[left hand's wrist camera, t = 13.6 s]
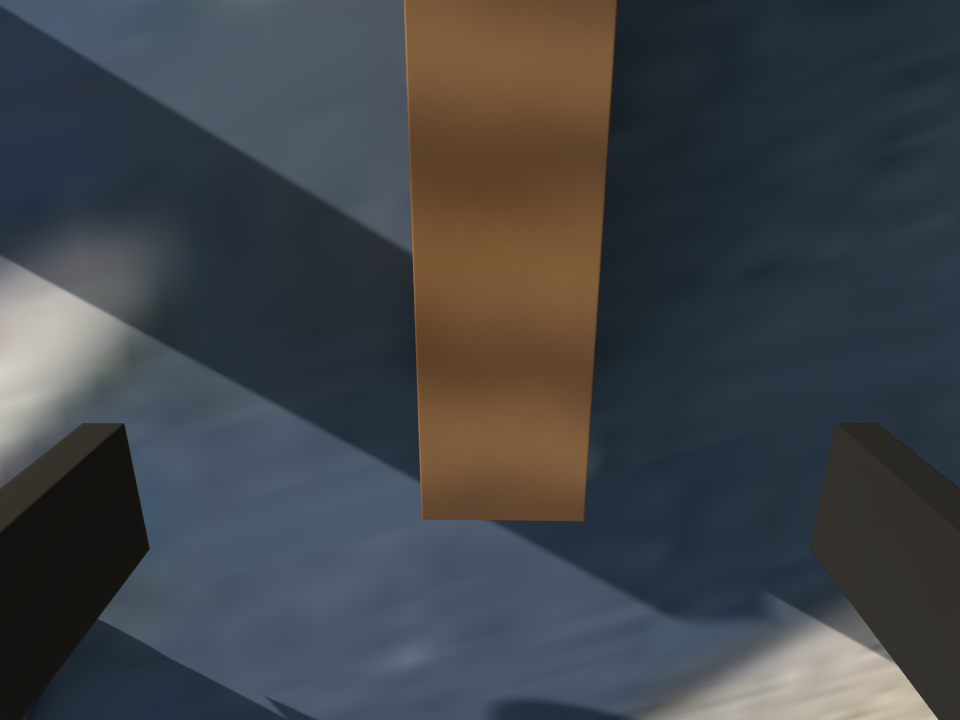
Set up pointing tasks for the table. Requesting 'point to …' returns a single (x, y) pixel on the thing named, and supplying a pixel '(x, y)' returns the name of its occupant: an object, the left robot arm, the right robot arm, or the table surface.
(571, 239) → the beam
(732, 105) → the table surface
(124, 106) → the table surface
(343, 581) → the table surface
